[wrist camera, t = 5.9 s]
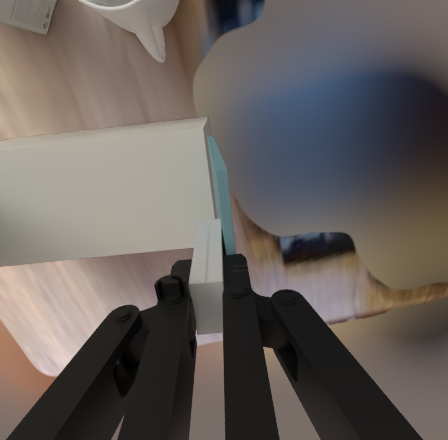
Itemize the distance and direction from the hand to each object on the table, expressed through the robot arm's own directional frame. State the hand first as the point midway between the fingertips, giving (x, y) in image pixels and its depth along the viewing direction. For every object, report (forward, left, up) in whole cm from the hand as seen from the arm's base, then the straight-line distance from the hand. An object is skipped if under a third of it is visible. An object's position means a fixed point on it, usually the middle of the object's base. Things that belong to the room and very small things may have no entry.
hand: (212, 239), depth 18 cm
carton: (0, -12, -21) cm, 24 cm away
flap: (0, 0, -3) cm, 3 cm away
